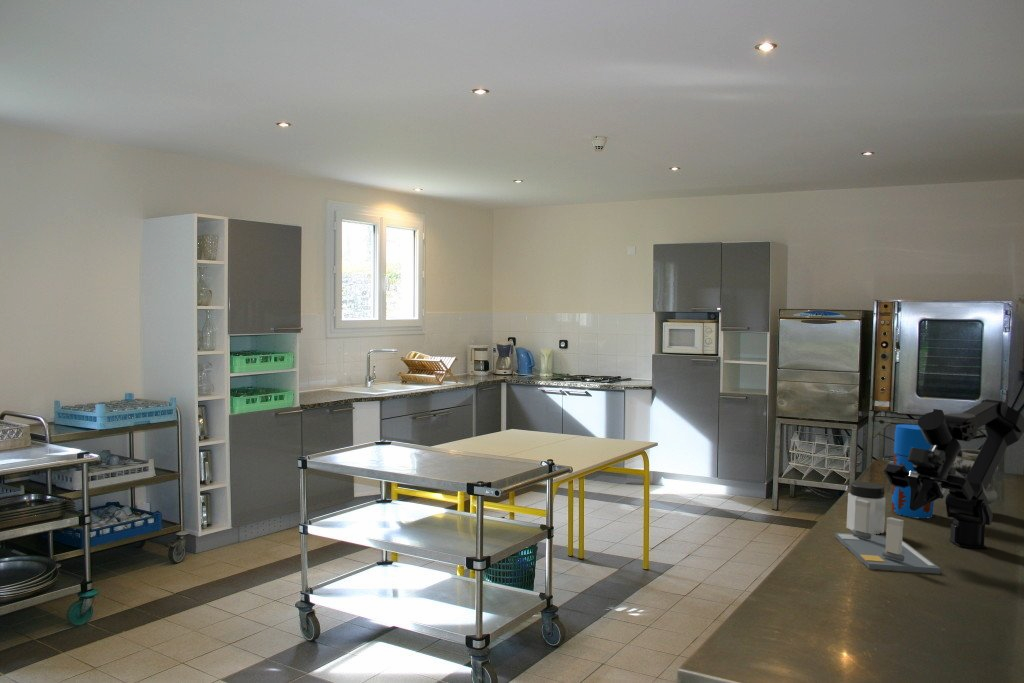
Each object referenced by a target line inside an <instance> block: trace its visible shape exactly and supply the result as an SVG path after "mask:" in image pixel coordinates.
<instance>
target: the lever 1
mask: <svg viewBox="0 0 1024 683" xmlns="http://www.w3.org/2000/svg"><path fill="white" fill-rule="evenodd" d="M870 504H871V502H869V501H864V500H860V499H858V500H855V525H854V529H853V530H851V534H852V535H855V536H859V537H862V538H866V539H871V534H869V533H868V532H869V518H870Z"/></svg>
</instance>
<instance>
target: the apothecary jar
mask: <svg viewBox="0 0 1024 683" xmlns="http://www.w3.org/2000/svg"><path fill="white" fill-rule="evenodd" d="M961 450H962V457H958V456H957V457H956V459H955V461H954V462H953V464H952V466H951V467H953V468H954V469H955V475H956V476H961V477H966V478H967V476H968V474H969V472H970V470H971V468H972V466H973V464H974V462H975V460H976V458H977V456H978V454H979V452H980V450H981V449H971V448H966V449H965V448H964V449H963V448H961ZM997 471H999V465H998V466H997V468H996V470H995V472H994V474H995V473H997ZM993 479H994V475H993V476H992V479H991V481H990V483H989V485H988V487H987V489H986V494H987V497H988V501H989V502H988V505H989V504H992V503H994V502H995V501H997V499H998V493H997V491H996V490H995V489H994V488H993V483H994V480H993Z"/></svg>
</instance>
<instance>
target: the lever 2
mask: <svg viewBox="0 0 1024 683" xmlns="http://www.w3.org/2000/svg"><path fill="white" fill-rule="evenodd" d="M904 522H905V521H904V520H903V519H901V518H900V519H899V518H895V517H892V516H891V517H886V522H885V523H886V527H885V528H886V532H885V536H886V548H885V550H883V552H882V555H883V556H885V557H888V558H892V559H895V560H898V561H902V562H903V561H904V555H900V554H902V540H903V532H904V531H903V530H904Z"/></svg>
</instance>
